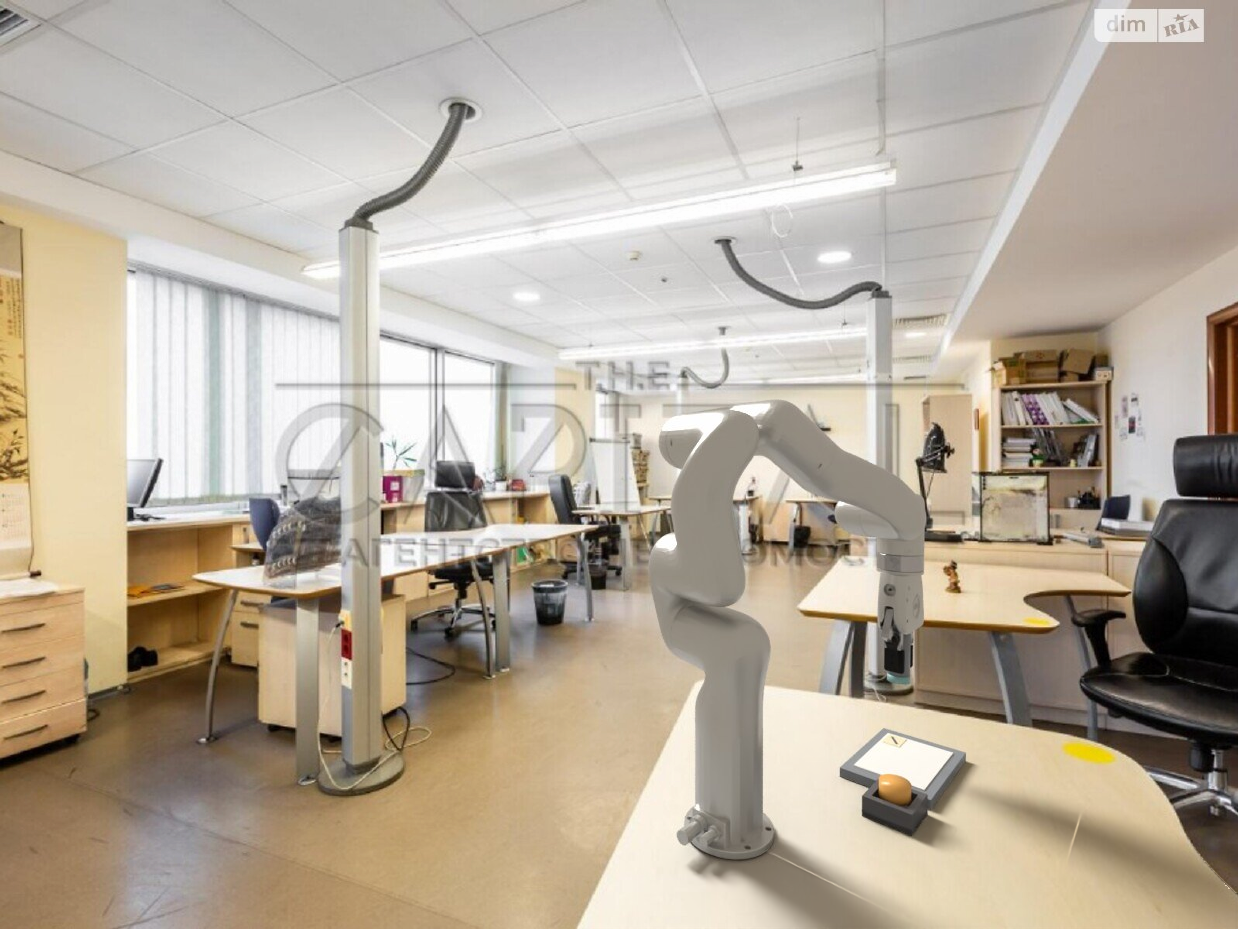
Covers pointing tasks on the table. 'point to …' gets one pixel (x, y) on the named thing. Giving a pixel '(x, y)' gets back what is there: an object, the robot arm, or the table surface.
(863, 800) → the button housing
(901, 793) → the button
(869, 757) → the drawing board
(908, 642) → the marker
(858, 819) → the table surface
